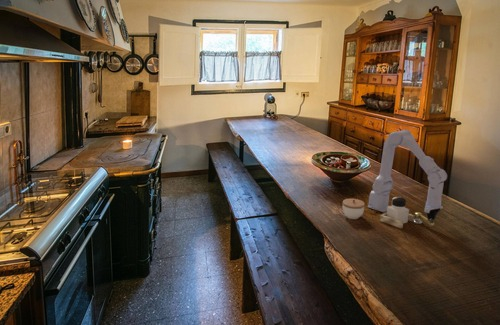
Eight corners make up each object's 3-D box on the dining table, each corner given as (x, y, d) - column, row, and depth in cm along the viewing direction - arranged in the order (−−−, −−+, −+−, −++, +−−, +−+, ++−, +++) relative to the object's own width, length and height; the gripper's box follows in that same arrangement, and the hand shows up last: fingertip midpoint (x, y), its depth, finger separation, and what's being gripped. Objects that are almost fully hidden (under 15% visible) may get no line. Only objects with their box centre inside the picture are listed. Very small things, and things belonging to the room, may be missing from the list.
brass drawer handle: (413, 215, 170) (414, 210, 169) (418, 215, 170) (419, 209, 169) (429, 226, 159) (430, 220, 158) (435, 225, 159) (436, 219, 158)
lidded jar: (337, 216, 175) (338, 199, 173) (348, 210, 183) (349, 193, 180) (356, 223, 168) (358, 205, 166) (367, 216, 175) (369, 199, 173)
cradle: (379, 220, 170) (380, 215, 170) (391, 214, 178) (392, 208, 177) (401, 228, 162) (402, 222, 162) (413, 220, 170) (413, 215, 169)
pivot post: (410, 221, 169) (411, 217, 169) (414, 219, 172) (415, 214, 171) (419, 224, 166) (420, 220, 166) (423, 221, 169) (424, 217, 168)
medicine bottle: (407, 222, 168) (410, 199, 165) (396, 225, 166) (399, 202, 162) (396, 216, 175) (399, 194, 171) (385, 219, 172) (388, 196, 169)
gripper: (437, 202, 151) (433, 230, 155) (449, 193, 161) (445, 220, 164) (421, 197, 156) (417, 224, 160) (433, 189, 166) (430, 215, 169)
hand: (430, 222), depth 163 cm, fingers closed, pressing on brass drawer handle
